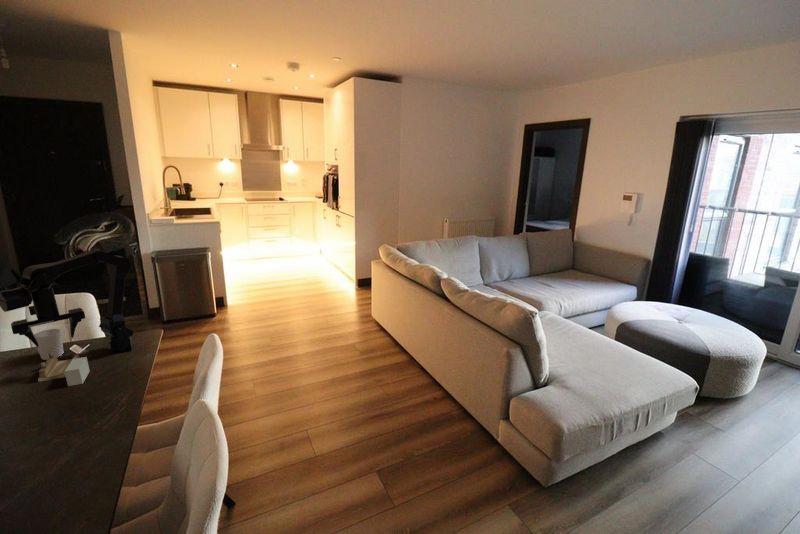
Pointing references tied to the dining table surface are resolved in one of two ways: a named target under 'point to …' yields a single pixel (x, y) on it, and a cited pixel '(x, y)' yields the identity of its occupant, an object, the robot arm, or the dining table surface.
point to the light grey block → (77, 371)
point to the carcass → (54, 368)
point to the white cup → (49, 343)
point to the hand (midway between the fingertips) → (55, 342)
